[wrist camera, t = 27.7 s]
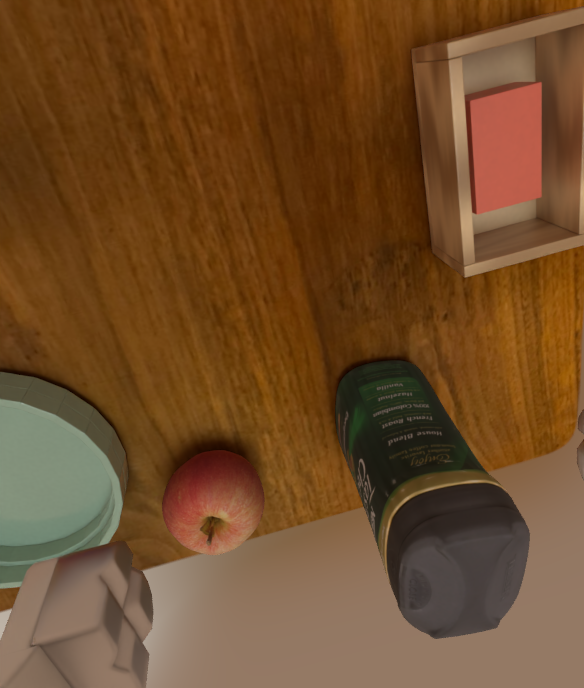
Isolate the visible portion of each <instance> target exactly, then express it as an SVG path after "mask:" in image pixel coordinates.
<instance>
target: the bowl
mask: <svg viewBox="0 0 584 688" xmlns="http://www.w3.org/2000/svg"><path fill="white" fill-rule="evenodd" d="M128 477H129V474H128V467H127V460H126V453H125V451H124V449H123V447H122V445H121V443H120V441H119V439H118V437H117V435H116V433H115V431H114V429H113V428H112V427H111V426H110V424H109V423H108V422H107V421H106V420H105V419H104V418H103V417H102V416H101V415H100V413H99V412H98V411H97V410H96V409H95V408H94V407H92V406H91V405H89V404H88V403H86V402H85V401H83V400H82V399H80V398H79V397H77V396H76V395H74V394H73V393H71V392H70V391H68V390H67V389H64V388H61V387H59V386H56V385H54V384H51V383H49V382H46V381H43V380H41V379H38V378H35V377H30V376H24V375H18V374H12V373H6V372H0V588H12V587H21V585H22V582H23V579H24V577H25V574H26V572H27V570H28V569H29V568H30V567H31V566H32V565H33V564H34V563H36V562H40V561H44V560H48V559H52V558H56V557H60V556H63V555H65V554H69V553H73V552H76V551H80V550H84V549H88V548H92V547H96V546H100V545H104V544H108V543H109V541H110V539H111V538H112V536H113V535H114V533H115V531H116V530H117V528H118V525H119V521H120V516H121V511H122V507H123V502H124V497H125V492H126V487H127V482H128Z"/></svg>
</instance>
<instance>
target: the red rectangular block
mask: <svg viewBox="0 0 584 688" xmlns="http://www.w3.org/2000/svg"><path fill="white" fill-rule="evenodd" d="M464 96H465V112H466V127H467V142H468V158H469V173H470V189H471V204H472V213H474V214H476V215H478V214H482V213H485V212H489V211H493V210H496V209H500V208H504V207H507V206H511V205H515V204H518V203H522V202H526V201H529V200H533V199H537V198H541V197H542V82H513V83H509V84H505V85H502V86H498V87H494V88H490V89H487V90H483V91H479V92H475V93H472V94H468V95H464Z"/></svg>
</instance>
